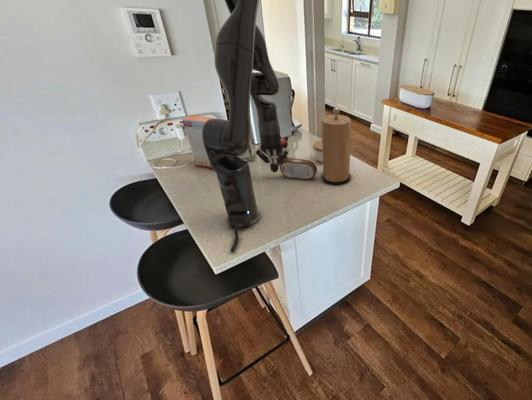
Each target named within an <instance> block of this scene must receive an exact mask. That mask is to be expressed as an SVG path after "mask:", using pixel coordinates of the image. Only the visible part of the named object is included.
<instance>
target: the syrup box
mask: <svg viewBox="0 0 532 400" xmlns="http://www.w3.org/2000/svg"><path fill="white" fill-rule="evenodd" d="M239 157H240V158H242V159H244V160H245V161H246V162H250V161H252V162H253V161H254V152H253V147H252V140H251V139H250V142H249V147H248V149H247V151H246V153H245V154H243V155H241V156H239Z"/></svg>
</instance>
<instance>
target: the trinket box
mask: <svg viewBox="0 0 532 400" xmlns="http://www.w3.org/2000/svg"><path fill="white" fill-rule="evenodd" d="M312 149H313V154H314V155H313V156H314V157H315V158H316V159H317V160H318V162H320V163H322V164H323V154H322V139H321V140H317V141H314V142H313V144H312Z"/></svg>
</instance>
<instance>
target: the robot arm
mask: <svg viewBox="0 0 532 400" xmlns="http://www.w3.org/2000/svg"><path fill="white" fill-rule="evenodd" d="M224 2H225V5H226V8H227V10H228V12H229V14H230V15H229V16H228V18H227V19H226V21H225V22H224V23H223V24H222V26H221V27H220V29H219V30H218V32H217V35H216V38H215V45H214V68H215V72H216V74H217V77H218V79H219V81H220V83H221V85H222V87H223V89H224V91H225V94H226V96H227V100H228V105H229V118H228V119H222V118H217V119H209V120H207V121H206V122H205V124H204V126H203V129H202V140H203V144H204V147H205V150H206V153H207V156H208V159H209V162H210V165H211V167H212V168H211V169H212V171H214V172H215V174H216V178H217V182H218V185H219V186H218V187H219V190H220V192H221V196H222V200H223V203H224V207H225V210H226V214H227V220H228V223H229V226H230V228H234V240H233V241H234V242H233V244H232V246H231V248H230V252H235V251H236V247H237V245H238V243H239V228H251V227H252V225H254V224H255V223H257V221H258V220H259V219H260V213H259V209H258V204H257V200H256V194H255V190H254V185H253V180H252V174H251V169H250V165H249V162H248V161H245V160H244V159H242V158H240V157H239V156H241V155H243V154H245V153H246V151H247V149H248V147H249V142H250V140H251V99H252V101H253V103H254V104H253V105H254V107H255V111H256V117H257V128H258V134H259V141H260V145H259V148H256V150H255V155H256V156H257V157H259V158H260V159H261V160H262V161H263V162H264V163H265V164H269V167H270V171H271V172H272V173H277V172H278V171H279V165H278V163H279V164H281V163H282V161H283V160H284V158H285V157H286V156H287V157H288V155H289V151H290V149H288V148H286V149H285V148H283V145H282V143H281V138H282V136H281V127H280V122H279V118H278V117H279V115H278V109H277V104H276V103H275V102H274V101H271V100H268V99H266V98H264V97H263V96H273V97H274V96H276V95H277V94H278V93H279V91H280V88H281V87H280V80H279V78H278V76H277V74H276V72H275V70H274V68H273V66H272V64H271V61H270V58H269V52H268V48H267V43H266V40H265V37H264V34H263V33H262V30H261V29H260V28H259V26H258V25H257V17H258V12H259V5H260V0H224ZM253 70H254V71H257V72H253ZM281 151H282V155H281V157H280V158H279V159H278V155H279V154H280V152H281Z"/></svg>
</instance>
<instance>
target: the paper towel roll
mask: <svg viewBox="0 0 532 400" xmlns="http://www.w3.org/2000/svg"><path fill="white" fill-rule="evenodd" d="M340 111H341V110H340V108H339V107H338V106H337V107H336V106H335V107H333V109H332V112H333V114H329V115H324V116H323V117H321V140H322V154H323V163H322V174H321V180H322V181H323V182H324V183H325V184H328V185H331V186H342V185H346V184H348V183H349V182H350V181H351V173H350V166H351V164H350V163H351V136H352V134H351V132H352V119H351V118H350V117H349V116H346V115H342V114H339V113H340Z"/></svg>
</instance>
